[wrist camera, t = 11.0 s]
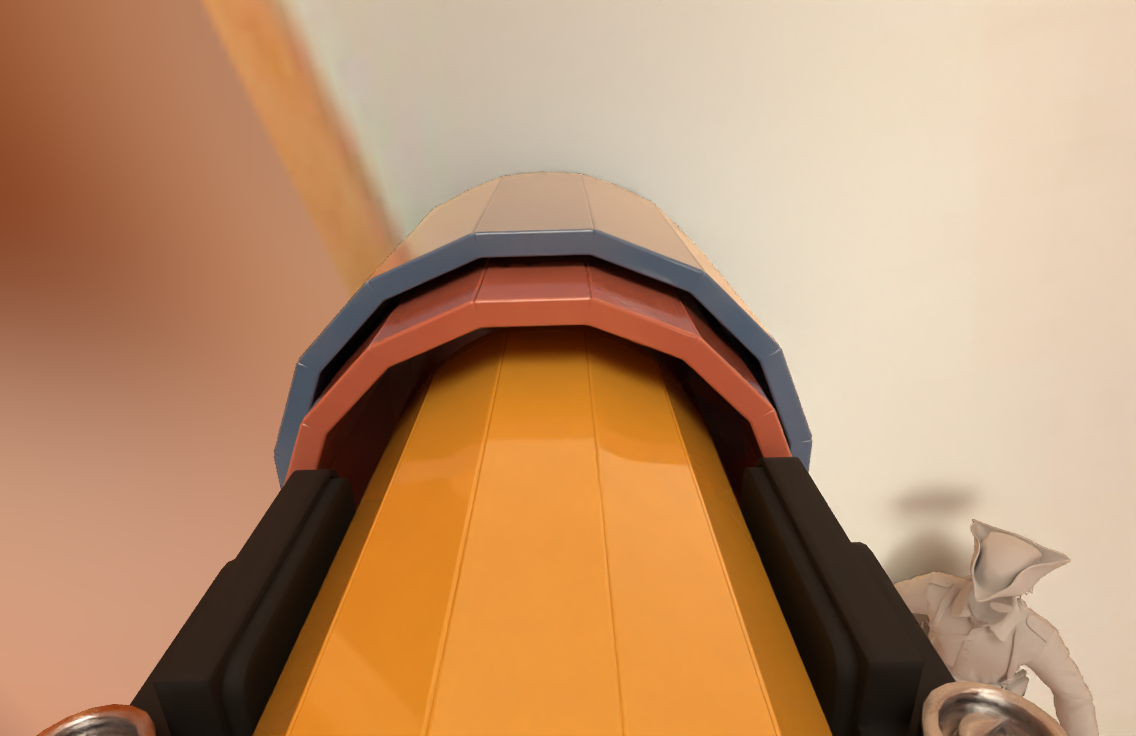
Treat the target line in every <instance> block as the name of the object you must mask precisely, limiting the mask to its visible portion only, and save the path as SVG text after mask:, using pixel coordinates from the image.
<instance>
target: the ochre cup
mask: <svg viewBox="0 0 1136 736" xmlns="http://www.w3.org/2000/svg"><path fill="white" fill-rule="evenodd" d="M253 736H833V735H832V732H831V730H830V727H829V725H828V722H827V720H826V717H825V715H824V713H823V710H822V708H821V705H820V703H819V700H818V698H817V695H816V693H815V691H814V688H813V686H812V683H811V681H810V678H809V676H808V674H807V671H806V669H805V666H804V664H803V661H802V659H801V656H800V654H799V652H798V649H797V647H796V644H795V642H794V639H793V637H792V634H791V632H790V630H789V627H788V625H787V622H786V620H785V617H784V615H783V613H782V610H781V608H780V605H779V603H778V600H777V598H776V595H775V593H774V591H773V588H772V586H771V583H770V581H769V578H768V576H767V573H766V571H765V569H764V566H763V564H762V561H761V559H760V556H759V554H758V552H757V549H756V547H755V544H754V542H753V539H752V537H751V534H750V532H749V530H748V527H747V525H746V522H745V520H744V517H743V515H742V512H741V510H740V508H739V505H738V503H737V500H736V498H735V495H734V493H733V491H732V488H731V486H730V483H729V481H728V478H727V476H726V473H725V471H724V469H723V466H722V464H721V461H720V459H719V456H718V454H717V451H716V449H715V447H714V444H713V442H712V439H711V437H710V434H709V432H708V430H707V427H706V425H705V422H704V420H703V417H702V415H701V413H700V411H699V410H698V409H697V408H696V407H695V406H694V404H693V403H692V401H691V399H690V398H689V396H688V394H687V392H686V391H685V389H684V388H683V386H682V385H681V384H680V382H679V381H678V379H677V378H676V377H675V376H674V375H673V374H672V373H671V372H670V371H669V370H668V368H667V367H666V366H665V365H664V364H663V363H661V362H660V361H659V360H658V359H656V358H655V357H654V356H653V355H652V354H650V353H649V352H648V351H646V350H645V349H643V348H641V347H640V346H638V345H636V344H635V343H633V342H631V341H630V340H627V339H625V338H622V337H619V336H616V335H614V334H611V333H608V332H605V331H603V330H600V329H597V328H594V327H591V326H586V325H558V326H522V327H508V328H503V329H501V330H498V331H495V332H492V333H489V334H486V335H484V336H482V337H480V338H478V339H476V340H474V341H472V342H470V343H468V344H466V345H464V346H463V347H461V348H460V349H458V350H457V351H455V352H454V353H453V354H451V355H450V356H448V357H447V358H446V359H445V360H444V361H443V362H442V363H441V364H439V365H438V366H437V367H436V368H435V369H434V370H433V371H432V372H431V374H430V375H429V376H428V377H427V378H426V380H425V381H424V382H423V383H422V384H421V386H420V388H419V389H418V391H417V393H416V394H415V396H414V398H413V399H412V401H411V403H410V405H409V407H408V408H407V409H406V411H405V412H404V413H403V415H402V416H401V417H400V419H399V420H398V422H397V425H396V427H395V429H394V431H393V433H392V435H391V438H390V440H389V442H388V444H387V446H386V448H385V451H384V453H383V455H382V457H381V459H380V461H379V464H378V466H377V468H376V470H375V472H374V474H373V476H372V479H371V481H370V483H369V485H368V487H367V489H366V492H365V494H364V496H363V498H362V500H361V502H360V505H359V507H358V509H357V511H356V513H355V515H354V518H353V520H352V522H351V524H350V526H349V528H348V530H347V533H346V535H345V537H344V539H343V541H342V543H341V546H340V548H339V550H338V552H337V554H336V556H335V559H334V561H333V563H332V565H331V567H330V569H329V572H328V574H327V576H326V578H325V580H324V582H323V584H322V587H321V589H320V591H319V593H318V595H317V597H316V600H315V602H314V604H313V606H312V608H311V610H310V613H309V615H308V617H307V619H306V621H305V623H304V626H303V628H302V630H301V632H300V634H299V636H298V638H297V641H296V643H295V645H294V647H293V649H292V651H291V654H290V656H289V658H288V660H287V662H286V664H285V667H284V669H283V671H282V673H281V675H280V677H279V680H278V682H277V684H276V686H275V688H274V690H273V693H272V695H271V697H270V699H269V701H268V703H267V705H266V708H265V710H264V712H263V714H262V716H261V718H260V721H259V723H258V725H257V727H256V729H255V731H254V734H253Z"/></svg>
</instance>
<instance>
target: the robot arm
mask: <svg viewBox="0 0 1136 736" xmlns="http://www.w3.org/2000/svg"><path fill="white" fill-rule="evenodd" d="M740 510H741V512H742V515H743V517H744V520H745V522H746V525H747V527H748V530H749V532H750V534H751V537H752V539H753V542H754V544H755V547H756V549H757V552H758V554H759V556H760V559H761V561H762V564H763V566H764V569H765V571H766V573H767V576H768V578H769V581H770V583H771V586H772V588H773V591H774V593H775V595H776V598H777V600H778V603H779V605H780V608H781V610H782V613H783V615H784V617H785V620H786V622H787V625H788V627H789V630H790V632H791V634H792V637H793V639H794V642H795V644H796V647H797V649H798V652H799V654H800V656H801V659H802V661H803V664H804V666H805V669H806V671H807V674H808V676H809V678H810V681H811V683H812V686H813V688H814V691H815V693H816V695H817V698H818V700H819V703H820V705H821V708H822V710H823V713H824V715H825V717H826V720H827V722H828V725H829V727H830V730H831V732H832V735H833V736H1070V735H1069V734H1068V733H1067V732H1066V731H1065V730H1064V729H1063V728H1062V727H1061V725H1060V724H1059V723H1058V722H1057V721H1056V720H1055V719H1054V718H1052V717H1051V716H1050V715H1049V714H1047V713H1046V712H1045V711H1043V710H1042V709H1041V708H1039V707H1038V706H1037V705H1035V704H1034V703H1032V702H1030V701H1028V700H1026V699H1024V698H1023V697H1021V696H1019V695H1017V694H1015V693H1013V692H1011V691H1008V690H1005V689H1002V688H999V687H996V686H993V685H990V684H986V683H977V682H969V681H961V682H956V681H955V679H954V677H953V676H952V674H951V673H950V671H949V670H948V668H947V667H946V665H945V664H944V662H943V660H942V659H941V657H940V656H939V654H938V653H937V651H936V650H935V648H934V647H933V645H932V644H931V642H930V640H929V639H928V637H927V636H926V634H925V633H924V631H923V630H922V628H921V627H920V625H919V623H918V622H917V620H916V619H915V617H914V616H913V614H912V613H911V611H910V610H909V608H908V606H907V605H906V603H905V602H904V600H903V599H902V597H901V596H900V594H899V593H898V591H897V589H896V588H895V586H894V585H893V583H892V582H891V580H890V579H889V577H888V576H887V574H886V573H885V571H884V569H883V568H882V566H881V565H880V563H879V562H878V560H877V559H876V557H875V556H874V554H873V552H872V551H871V550H870V549H869V548H868V546H867V545H865V544H863V543H861V542H850V540H849V538H848V537H847V535H846V533H845V532H844V530H843V529H842V527H841V525H840V524H839V522H838V521H837V519H836V517H835V516H834V514H833V512H832V511H831V509H830V508H829V506H828V504H827V503H826V501H825V499H824V498H823V496H822V495H821V493H820V491H819V490H818V488H817V486H816V485H815V483H814V482H813V480H812V478H811V477H810V475H809V473H808V472H807V470H806V469H805V467H804V465H803V464H802V462H801V460H800V459H799V458H798V457H762V458H759V459H758V460H757V463H756V467H746V468H745V470H744V475H743V484H742V496H741V508H740ZM355 513H356V510H355V504H354V499H353V493H352V487H351V483H350V481H349V480H348V479H347V478H339V476H338V474H337V472H336V471H335V470H334V469H319V470H296V471H294V472H293V473H292V474H291V476H290V477H289V479H288V480H287V482H286V483H285V485H284V486H283V488H282V489H281V491H280V492H279V494H278V495H277V497H276V498H275V500H274V501H273V503H272V504H271V506H270V507H269V509H268V510H267V512H266V513H265V515H264V516H263V518H262V519H261V521H260V523H259V524H258V525H257V527H256V529H255V530H254V531H253V533H252V534H251V536H250V538H249V539H248V540H247V542H246V544H245V545H244V546H243V548H242V550H241V551H240V552H239V554H238V555H237V557H236V558H235V559H234V560H232V561H230V562H228V563H227V564H226V565H225V566H224V567H223V568H222V569H221V571H220V572H219V574H218V575H217V577H216V578H215V580H214V581H213V583H212V584H211V586H210V587H209V589H208V590H207V592H206V593H205V595H204V596H203V597H202V599H201V600H200V602H199V604H198V605H197V606H196V608H195V609H194V611H193V612H192V614H191V615H190V617H189V618H188V620H187V621H186V623H185V624H184V626H183V627H182V628H181V630H180V631H179V633H178V635H177V636H176V637H175V639H174V640H173V642H172V643H171V645H170V646H169V648H168V649H167V651H166V652H165V654H164V655H163V657H162V658H161V660H160V661H159V663H158V664H157V665H156V667H155V668H154V670H153V671H152V673H151V674H150V676H149V677H148V679H147V680H146V682H145V683H144V685H143V686H142V688H141V689H140V691H139V692H138V694H137V695H136V697H135V698H134V699H133V701H132V702H131V704H130V705H118V704H112V705H106V706H101V707H95V708H91V709H88V710H85V711H82V712H80V713H77V714H75V715H72V716H69V717H67V718H65V719H63V720H61V721H60V722H58V723H56V724H54V725H53V726H51V727H49V728H47V729H45V730H43V731H42V732H41V733H40V734H38V735H37V736H253V734H254V731H255V729H256V727H257V725H258V723H259V721H260V718H261V716H262V714H263V712H264V710H265V708H266V705H267V703H268V701H269V699H270V697H271V695H272V693H273V690H274V688H275V686H276V684H277V682H278V680H279V677H280V675H281V673H282V671H283V669H284V667H285V664H286V662H287V660H288V658H289V656H290V654H291V651H292V649H293V647H294V645H295V643H296V641H297V638H298V636H299V634H300V632H301V630H302V628H303V626H304V623H305V621H306V619H307V617H308V615H309V613H310V610H311V608H312V606H313V604H314V602H315V600H316V597H317V595H318V593H319V591H320V589H321V587H322V584H323V582H324V580H325V578H326V576H327V574H328V572H329V569H330V567H331V565H332V563H333V561H334V559H335V556H336V554H337V552H338V550H339V548H340V546H341V543H342V541H343V539H344V537H345V535H346V533H347V530H348V528H349V526H350V524H351V522H352V520H353V518H354V515H355Z"/></svg>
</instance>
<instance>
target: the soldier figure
mask: <svg viewBox="0 0 1136 736" xmlns="http://www.w3.org/2000/svg"><path fill="white" fill-rule="evenodd" d="M972 521H973V522H974V523H973V524H972V525H971V532H972V534H973V536H974V541H975V545H974V554H973V558H972V561H971V576H967V577H965V578H960V577H956V576H953V575H950V574H946V573H938V572H931V573H929V574H925V575H922V576H915V577H913V579H912V580H904V581H900V582H897V583H894V584H893V585H894V586H895V588H896V589H897V591H898V593H899V594H900V596H901V597H902V599H903V600H904V602H905V603H906V605H907V606H908V608H909V610H910V611H911V613H912V614H914V613H917V614H925V615H928V618H929V620H930V621H929V622H927V621H925V620H924V621H923V622H922V623H921V625H920V627H921V628H922V630H923V631H924V633H925V634H926V636H927V637H928V639H929V640H930V642H931V644H932V645H933V647H934V648H935V650H936V651H937V653H938V654H939V656H940V657H941V659H942V660H943V662H944V664H945V665H946V667H947V668H948V670H949V671H950V673H951V674H952V676H953V677H954V679H955V681H956V682H961V681H969V682H977V683H986V684H990V685H993V686H996V687H999V688H1002V689H1005V690H1008V691H1011V692H1013V693H1015V694H1017V695H1019V696H1021V697H1023V696H1024V694H1025V691H1026V688H1027V684H1028V681H1029V679H1028V678H1027V677H1026V676H1025V675H1026V671H1025V670H1024V669H1022V670H1021V671H1019V672H1017V673H1016V671H1017V670H1018V669H1019V667H1020V665H1023V664H1025V665H1027V666H1028V667H1029V668H1031V669H1032V670H1033V671H1034V672H1035V674H1036V675H1037V676H1038V677H1039V678H1040V679H1041V680H1042V681H1043V683H1045V684H1046V685H1047V686H1048V687H1049V688H1050V689H1051V691H1052V693H1053V694H1054V706H1055V709H1056V715H1057V717H1058V720H1059V722H1060V725H1061V727H1062V728H1063V729H1064V730H1065V731H1066V732H1067V733H1068V734H1069V735H1070V736H1099V732H1098V726H1097V721H1096V716H1095V708H1094V705H1093V703H1092V701H1093V699H1092V695H1091V692H1090V690H1089V688H1088V686H1087V685H1086V683H1085V682H1084V680H1083V677H1082V675H1081V673H1080V672H1079V670H1078V667H1077V665H1076V664H1075V662H1074V661H1073V660H1072V659H1071V658H1070V657H1069V650H1068V648H1067V647H1066V646H1065V645H1064V642H1063V640H1062V639H1061V637H1060V636H1059V633H1058V630H1057V629H1056V628H1055V627H1054V626H1052V625H1051V624H1050V623H1049V622H1048V621H1047V620H1046V619H1044V618H1043V617H1041V616H1040V615H1038V614H1037V613H1035V612H1034V611H1033V610H1032V609H1030V608H1028V607H1027V605H1026V602H1025V601H1023V600H1022V599H1021V595H1023V594H1024V593H1025V594H1026V592H1027V591H1029V592H1030V593H1033V586H1034V585H1035V584H1036V583H1037V582H1038V581H1039V580H1040V579H1041V578H1042V577H1043V576H1045V575H1046V574H1048V573H1049V572H1051V571H1053V570H1054V569H1056V568H1058V567H1060V566H1063V565H1065V564H1067V563H1069V562H1071V560H1070V559H1069V558H1068V557H1067V556H1066V555H1064V554H1062V553H1060V552H1057V551H1054V550H1051V549H1048V548H1046V547H1043V546H1041V545H1039V544H1037V543H1035V542H1033V541H1032V540H1030V539H1027V538H1025V537H1023V536H1020V535H1018V534H1015V533H1012V532H1009V531H1005V530H1002V529H999V528H996V527H993V526H990V525H987V524H985V523H982V522H979V521H977V520H975V519H972ZM1027 594H1028V593H1027ZM1027 594H1026V595H1027ZM1015 596H1020V599H1019V598H1016V597H1015Z"/></svg>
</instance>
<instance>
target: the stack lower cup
mask: <svg viewBox="0 0 1136 736" xmlns="http://www.w3.org/2000/svg"><path fill="white" fill-rule="evenodd" d="M568 255H592V256H594V257H597V258H600V259H602V260H605V261H607V262H610V263H613V264H615V265H618V266H621V267H623V268H626V269H629V270H631V271H634V272H637V273H639V274H642V275H644V276H647V277H650V278H652V279H655V280H658V281H660V282H663V283H666V284H668V285H671V286H674V287H676V288H679V289H682V290H684V291H687V292H689V293H690V294H691V295H692V296H693V297H694V298H695V299H696V300H698V301H699V302H700V303H701V304H702V305H703V306H704V307H705V308H706V309H707V310H708V311H709V312H710V313H711V314H712V315H713V316H714V317H715V318H716V320H717V321H718V323H719V325H720V326H721V328H722V329H723V331H724V332H725V334H726V335H727V337H728V338H729V340H730V341H731V343H732V345H733V346H734V348H735V349H736V351H737V352H738V354H739V355H740V357H741V358H742V360H743V361H744V363H745V365H746V366H747V368H748V369H749V371H750V372H751V374H752V375H753V377H754V378H755V380H756V381H757V383H758V385H759V386H760V388H761V389H762V391H763V392H764V394H765V395H766V397H767V398H768V400H769V401H770V403H771V405H772V406H773V408H774V409H775V411H776V414H777V417H778V419H779V422H780V425H781V428H782V430H783V433H784V436H785V438H786V441H787V444H788V447H789V449H790V452H791V455H792V457H798V458H799V459H800V460H801V462H802V464H803V465H804V467H805V469H806V470H807V472H808V471H809V463H810V455H811V447H812V439H811V438H812V435H811V432H810V429H809V426H808V423H807V420H806V417H805V415H804V412H803V409H802V406H801V403H800V400H799V397H798V395H797V392H796V389H795V386H794V383H793V380H792V377H791V374H790V372H789V369H788V366H787V363H786V360H785V357H784V354H783V351H782V349H781V348H780V347H779V344H778V343H777V342H776V341H775V339H774V338H773V337H772V336H771V335H770V333H769V332H768V331H767V330H766V329H765V327H764V326H763V325H762V324H761V322H760V321H759V320H758V319H757V318H756V316H755V315H754V314H753V313H752V311H751V310H750V309H749V308H748V307H747V305H746V304H745V303H744V302H743V301H742V299H741V298H740V297H739V296H738V294H737V293H736V292H735V291H734V290H733V288H732V287H731V286H730V285H729V283H728V282H727V281H726V280H725V279H724V277H723V276H722V275H721V274H720V273H719V271H718V270H717V269H716V268H715V266H714V265H713V264H712V263H711V262H710V260H709V259H708V258H707V257H706V255H705V254H704V253H703V252H702V251H701V250H700V249H699V248H698V247H697V246H696V245H695V244H694V243H693V242H692V241H691V240H690V239H689V238H688V237H687V236H686V235H685V234H684V233H683V232H682V231H681V230H680V228H679V227H678V226H677V225H676V224H675V223H674V222H673V221H672V220H671V219H669V218H668V217H667V216H666V215H665V213H664V212H663V211H662V210H661V209H660V208H659V207H658V206H657V205H656V204H655V203H653V202H651V201H650V200H648V199H645V198H643V197H640V196H638V195H637V194H634V193H632V192H630V191H628V190H626V189H624V188H622V187H620V186H618V185H616V184H613V183H609V182H606V181H603V180H600V179H597V178H594V177H590V176H587V175H584V174H580V173H564V172H534V173H523V174H516V175H505V176H504V177H503V176H501V177H499V178H496V179H494V180H491V181H489V182H486V183H484V184H481V185H478V186H476V187H473V188H471V189H469V190H467V191H465V192H463V193H462V194H460V195H458V196H456V197H454V198H453V199H451V200H449V201H447V202H445V203H443V204H441V205H438V206H436V207H435V208H434V209H432V210H431V211H430V213H429V214H428V215H427V216H426V217H425V218H424V219H423V220H422V221H421V222H420V223H419V224H418V226H417V227H416V228H415V229H414V230H413V231H412V232H411V233H410V234H409V235H408V236H407V237H406V239H405V240H404V241H403V242H402V243H401V244H400V245H399V246H398V247H397V248H396V249H395V250H394V252H393V253H392V254H391V255H390V256H389V257H388V258H387V259H386V260H385V261H384V262H383V263H382V265H381V266H380V267H379V268H378V269H377V270H376V271H375V272H374V273H373V274H372V275H371V276H370V278H369V279H368V280H367V281H366V282H365V283H364V284H363V285H362V286H361V288H360V289H359V290H358V291H357V292H356V293H355V295H354V296H353V297H352V298H351V299H350V300H349V301H348V303H347V304H346V305H345V306H344V307H343V308H342V310H341V311H340V312H339V313H338V314H337V315H336V317H335V318H334V319H333V320H332V321H331V322H330V323H329V325H328V326H327V327H326V328H325V329H324V330H323V331H322V333H321V334H320V335H319V336H318V337H317V338H316V340H315V341H314V342H313V343H312V344H311V345H310V346H309V348H308V349H307V350H306V351H305V352H304V353H303V355H302V356H301V357H300V358H299V361H298V362H297V364H296V368H295V371H294V375H293V379H292V383H291V388H290V391H289V395H288V399H287V403H286V407H285V410H284V415H283V418H282V422H281V426H280V430H279V434H278V438H277V442H276V446H275V449H274V459H275V464H276V469H277V473H278V478H279V483H280V487H281V489H282V488H283V486H284V483H285V479H286V476H287V472H288V468H289V464H290V461H291V457H292V453H293V450H294V446H295V442H296V438H297V435H298V431H299V427H300V424H301V422H302V421H303V418H304V417H305V416H306V414H307V413H308V411H309V410H310V409H311V407H312V406H313V405H314V403H315V402H316V401H317V399H318V398H319V397H320V395H321V394H322V392H323V391H324V390H325V388H326V387H327V386H328V384H329V383H330V382H331V380H332V379H333V378H334V376H335V375H336V374H337V372H338V371H339V369H340V368H341V367H342V365H343V364H344V363H345V361H346V360H347V359H348V357H349V356H350V355H351V353H352V352H353V350H354V349H355V348H356V346H357V345H358V344H359V342H360V341H361V340H362V338H363V337H364V336H365V334H366V333H367V331H368V330H369V329H370V327H371V326H372V325H373V323H374V322H375V321H376V319H377V318H378V317H379V315H380V314H381V312H382V311H383V310H384V308H385V307H386V306H387V304H388V303H389V302H390V300H391V299H392V298H393V297H394V296H397V295H399V294H401V293H403V292H405V291H408V290H410V289H412V288H414V287H417V286H419V285H421V284H423V283H426V282H428V281H430V280H432V279H434V278H437V277H439V276H441V275H443V274H446V273H448V272H450V271H452V270H455V269H457V268H459V267H461V266H463V265H466V264H468V263H470V262H472V261H475V260H477V259H479V258H495V257H532V256H568ZM644 347H645V346H644ZM650 350H651V348H650ZM653 350H654V349H653ZM654 352H655V350H654ZM431 353H432V352H431ZM651 353H652V352H651ZM654 354H655V353H654ZM657 355H659V354H657ZM665 355H666V354H665ZM662 356H663V354H662ZM666 356H667V355H666ZM668 356H669V355H668ZM414 357H415V356H414ZM438 357H439V356H438ZM658 357H660V356H658ZM663 358H665V357H663ZM672 358H673V357H672ZM672 358H671V359H672ZM658 359H660V358H658ZM668 359H669V358H668ZM675 359H676V358H673V360H675ZM665 360H666V359H665ZM665 360H664V361H665ZM664 361H663V362H664ZM666 361H667V360H666ZM668 361H669V360H668ZM671 361H672V360H671ZM414 362H415V361H414ZM677 362H678V363H679V360H678V361H677ZM677 362H676V363H677ZM682 362H683V360H682ZM669 363H670V362H669ZM673 363H674V362H673ZM684 363H686V362H684ZM684 363H682V364H683V365H684ZM419 364H420V363H419ZM686 364H687V363H686ZM667 365H668V363H667ZM667 365H666V366H667ZM674 365H675V363H674ZM676 365H679V364H676ZM676 365H675V366H676ZM683 365H682V366H683ZM413 367H414V366H413ZM421 367H422V366H421ZM668 367H669V366H668ZM671 367H672V365H671ZM678 367H679V366H678ZM686 367H687V366H686ZM686 367H681V368H686ZM668 369H669V368H668ZM674 369H675V368H674ZM677 369H678V368H677ZM679 369H680V368H679ZM672 370H673V367H672ZM675 370H676V369H675ZM686 370H687V368H686ZM669 371H670V370H669ZM678 371H679V370H678ZM680 371H682V370H680ZM683 371H684V370H683ZM683 371H682V372H683ZM682 372H681V373H682ZM676 373H677V371H676ZM676 373H675V374H676ZM684 373H686V372H684ZM418 374H419V372H418ZM675 374H674V375H675ZM677 374H679V373H677ZM677 374H676V375H677ZM681 375H682V374H681ZM678 376H679V375H678ZM683 376H684V374H683ZM675 377H676V376H675ZM681 377H682V376H681ZM679 378H680V377H679ZM685 378H686V377H685ZM680 380H681V378H680ZM685 380H686V379H685ZM685 380H682V381H685ZM678 381H679V380H678ZM679 382H681V381H679ZM682 385H683V384H682Z"/></svg>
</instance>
